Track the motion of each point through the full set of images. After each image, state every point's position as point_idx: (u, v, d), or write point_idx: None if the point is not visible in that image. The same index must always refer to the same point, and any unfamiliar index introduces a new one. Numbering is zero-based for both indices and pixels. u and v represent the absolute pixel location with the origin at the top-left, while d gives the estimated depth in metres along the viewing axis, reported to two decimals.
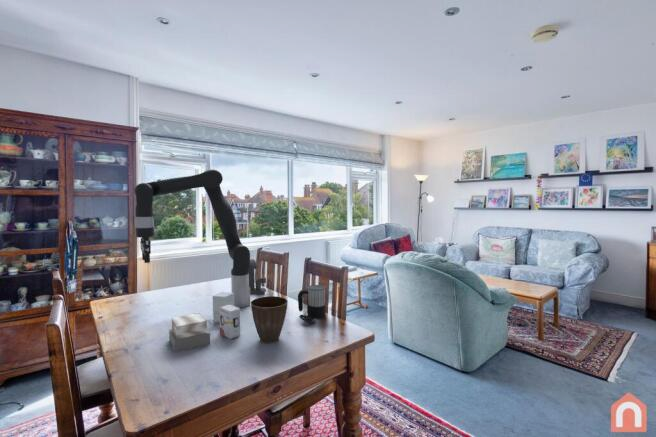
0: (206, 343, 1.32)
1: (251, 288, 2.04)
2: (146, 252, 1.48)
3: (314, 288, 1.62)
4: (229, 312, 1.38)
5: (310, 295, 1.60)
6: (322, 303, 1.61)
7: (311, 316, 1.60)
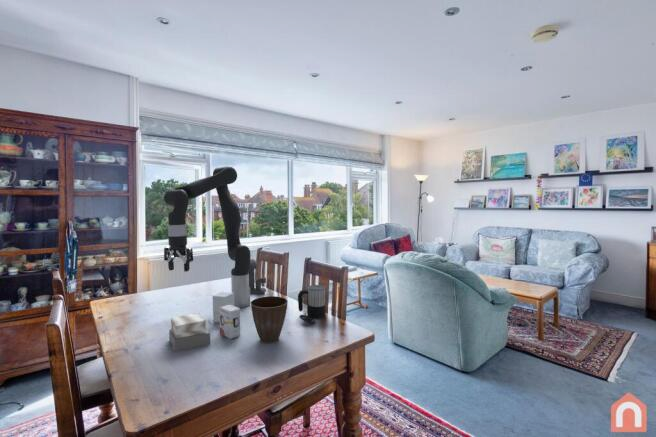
0: (206, 343, 1.32)
1: (251, 288, 2.04)
2: (190, 260, 1.46)
3: (314, 288, 1.62)
4: (229, 312, 1.38)
5: (310, 295, 1.60)
6: (322, 303, 1.61)
7: (311, 316, 1.60)
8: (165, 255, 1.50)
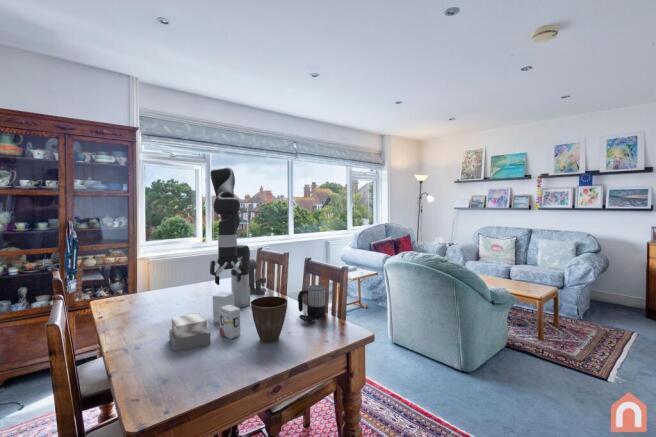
0: (206, 343, 1.32)
1: (251, 288, 2.04)
2: None
3: (314, 288, 1.61)
4: (229, 312, 1.38)
5: (310, 295, 1.60)
6: (322, 303, 1.61)
7: (311, 316, 1.60)
8: (213, 269, 1.36)
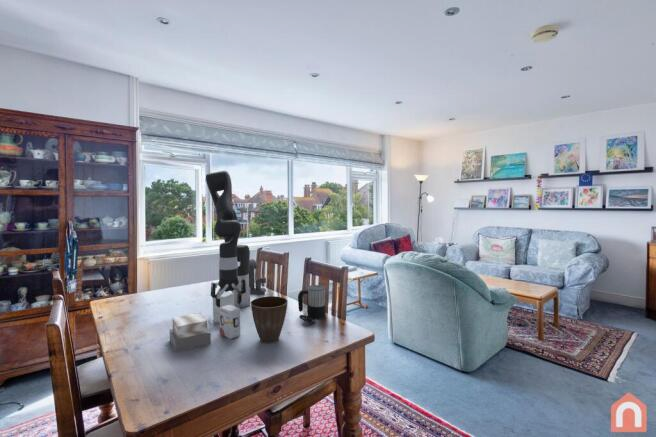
0: (207, 343, 1.32)
1: (251, 288, 2.04)
2: None
3: (314, 288, 1.61)
4: (229, 312, 1.38)
5: (310, 295, 1.60)
6: (322, 303, 1.61)
7: (311, 316, 1.60)
8: (214, 292, 1.36)
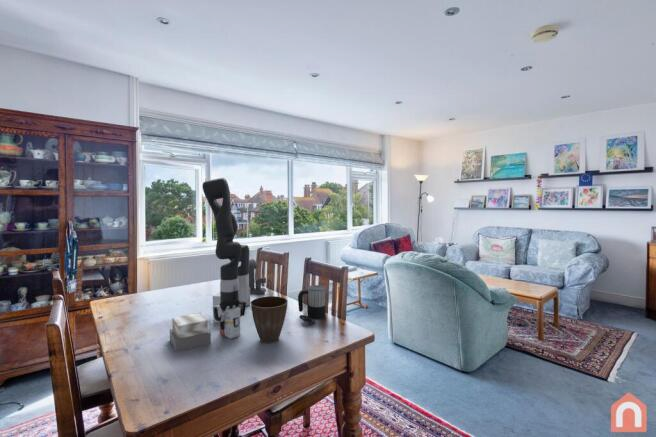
0: (207, 343, 1.32)
1: (251, 288, 2.04)
2: None
3: (314, 288, 1.61)
4: (229, 312, 1.38)
5: (310, 295, 1.60)
6: (322, 303, 1.60)
7: (311, 316, 1.60)
8: (217, 315, 1.37)
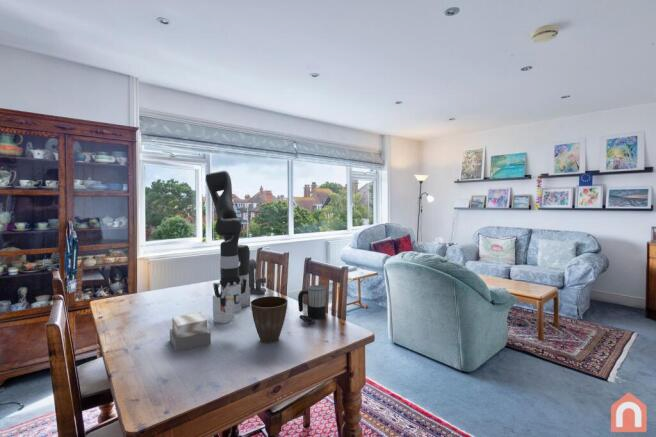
0: (206, 343, 1.32)
1: (251, 288, 2.04)
2: None
3: (314, 288, 1.61)
4: (230, 289, 1.37)
5: (310, 295, 1.60)
6: (322, 303, 1.60)
7: (311, 316, 1.60)
8: (217, 292, 1.37)
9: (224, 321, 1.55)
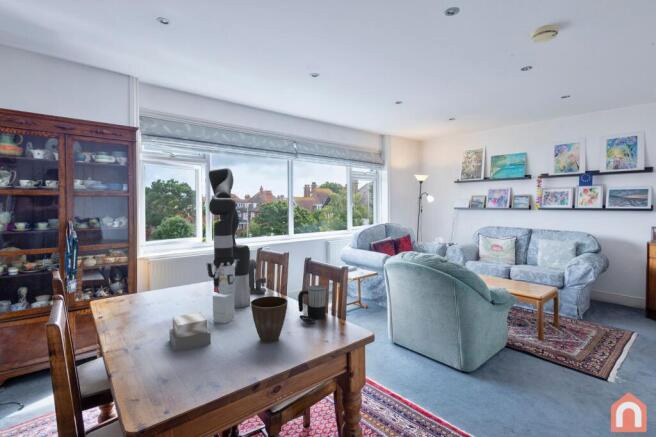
0: (206, 343, 1.32)
1: (251, 288, 2.04)
2: None
3: (314, 288, 1.61)
4: (223, 269, 1.36)
5: (310, 295, 1.60)
6: (322, 303, 1.60)
7: (311, 316, 1.60)
8: (211, 271, 1.35)
9: (224, 321, 1.55)
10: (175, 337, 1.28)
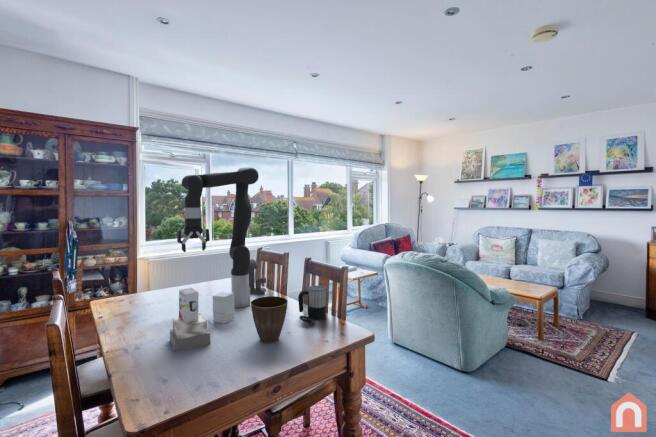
0: (206, 343, 1.32)
1: (251, 288, 2.04)
2: None
3: (315, 288, 1.60)
4: (185, 295, 1.30)
5: (310, 296, 1.59)
6: (322, 304, 1.59)
7: (311, 317, 1.59)
8: (180, 238, 1.54)
9: (224, 321, 1.55)
10: (175, 337, 1.28)
